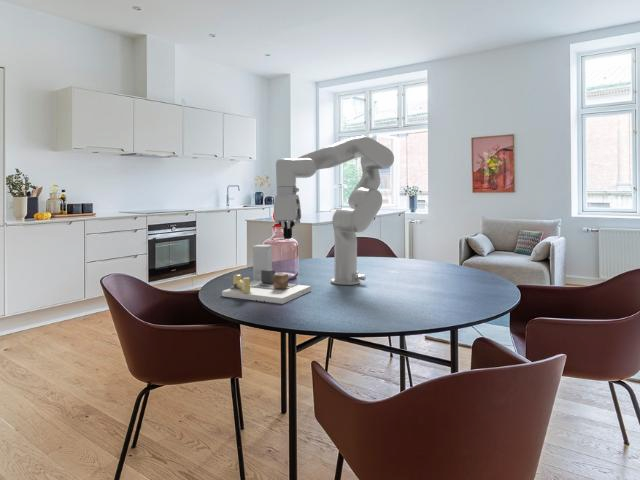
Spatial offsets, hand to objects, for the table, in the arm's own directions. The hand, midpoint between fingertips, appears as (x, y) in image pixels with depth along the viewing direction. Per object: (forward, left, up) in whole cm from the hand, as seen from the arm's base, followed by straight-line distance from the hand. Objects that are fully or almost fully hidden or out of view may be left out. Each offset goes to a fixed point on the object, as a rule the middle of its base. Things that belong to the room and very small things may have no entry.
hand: (287, 238), depth 182 cm
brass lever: (+11, +16, -18) cm, 26 cm away
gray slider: (+9, 0, -18) cm, 20 cm away
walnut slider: (-1, +7, -18) cm, 19 cm away
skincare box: (+19, -12, -21) cm, 31 cm away
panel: (+4, +8, -21) cm, 23 cm away
